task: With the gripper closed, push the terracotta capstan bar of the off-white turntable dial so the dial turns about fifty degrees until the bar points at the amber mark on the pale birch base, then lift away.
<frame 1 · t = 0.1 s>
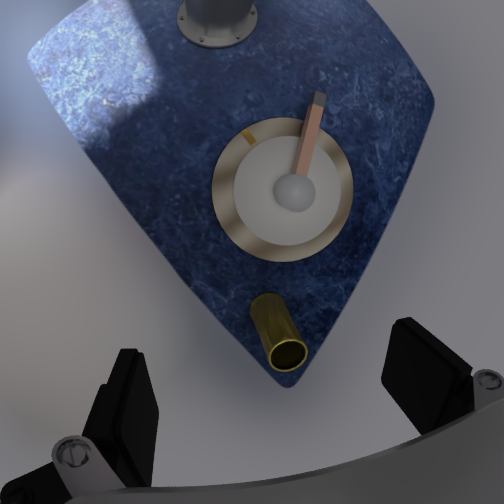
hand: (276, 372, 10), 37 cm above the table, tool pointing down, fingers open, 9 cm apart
vase: (267, 308, 51), on the table
dial base: (284, 189, 46), on the table
dial: (297, 169, 41), point 4 cm above the table, hinge at 0.0°
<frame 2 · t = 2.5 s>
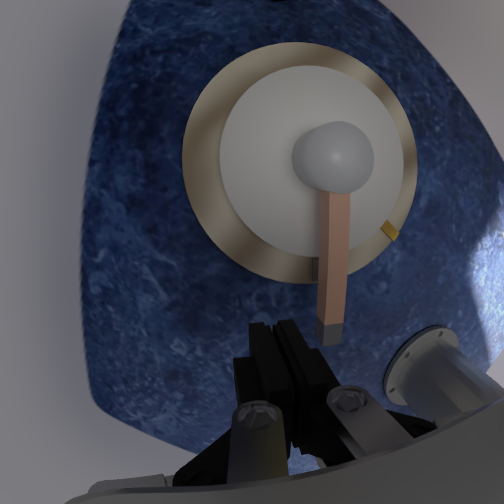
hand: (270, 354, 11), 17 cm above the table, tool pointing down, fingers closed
dial base: (309, 160, 26), on the table
dial: (328, 200, 23), point 4 cm above the table, hinge at 0.0°
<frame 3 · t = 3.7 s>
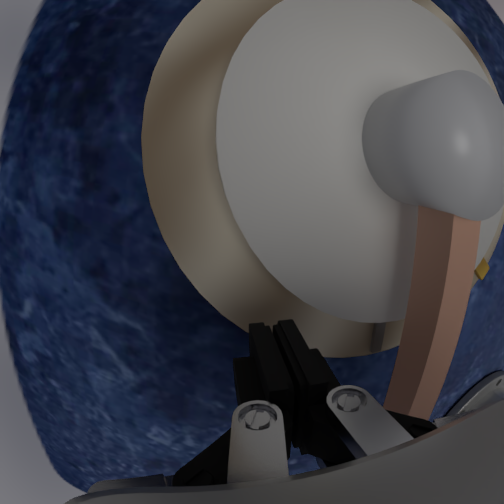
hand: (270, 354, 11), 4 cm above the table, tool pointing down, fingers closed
dial base: (374, 148, 14), on the table
dial: (427, 226, 11), point 4 cm above the table, hinge at 0.0°
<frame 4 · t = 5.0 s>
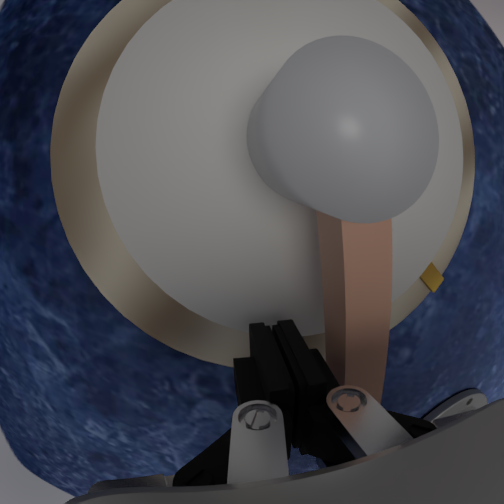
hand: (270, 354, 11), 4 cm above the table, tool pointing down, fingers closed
dial base: (291, 144, 14), on the table
dial: (337, 230, 10), point 4 cm above the table, hinge at 7.7°, touching gripper
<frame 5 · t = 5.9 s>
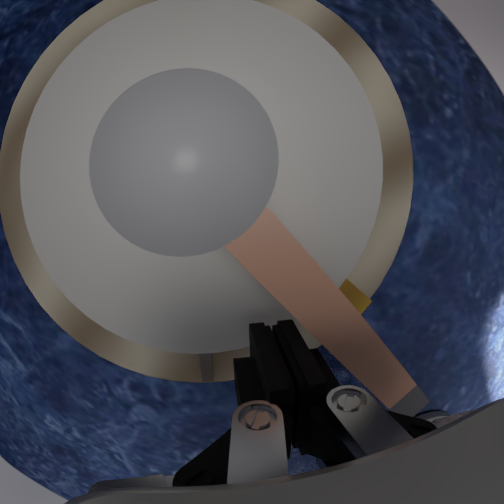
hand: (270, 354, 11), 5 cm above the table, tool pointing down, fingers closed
dial base: (196, 168, 14), on the table
dial: (253, 232, 11), point 4 cm above the table, hinge at 42.1°, touching gripper
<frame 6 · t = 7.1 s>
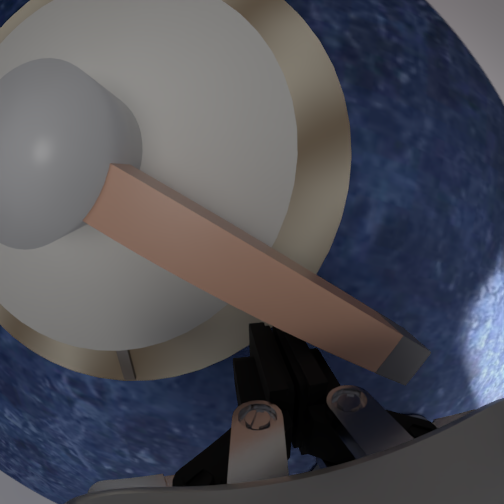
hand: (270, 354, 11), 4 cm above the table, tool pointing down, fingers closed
dial base: (106, 158, 12), on the table
dial: (142, 200, 9), point 4 cm above the table, hinge at 55.9°, touching gripper
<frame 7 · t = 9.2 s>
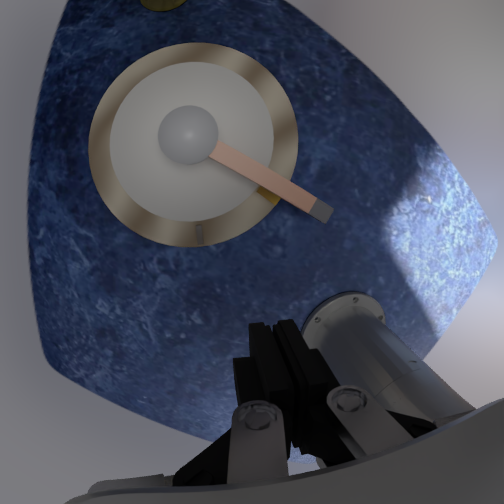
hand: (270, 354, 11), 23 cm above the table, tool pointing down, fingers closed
dial base: (191, 141, 30), on the table
dial: (220, 154, 27), point 4 cm above the table, hinge at 56.2°
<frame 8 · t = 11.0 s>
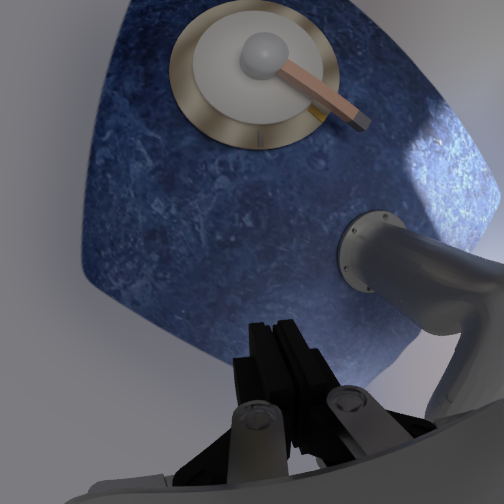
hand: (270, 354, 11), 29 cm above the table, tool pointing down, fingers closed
dial base: (256, 70, 34), on the table
dial: (285, 73, 31), point 4 cm above the table, hinge at 56.2°
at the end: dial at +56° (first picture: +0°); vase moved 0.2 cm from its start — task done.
